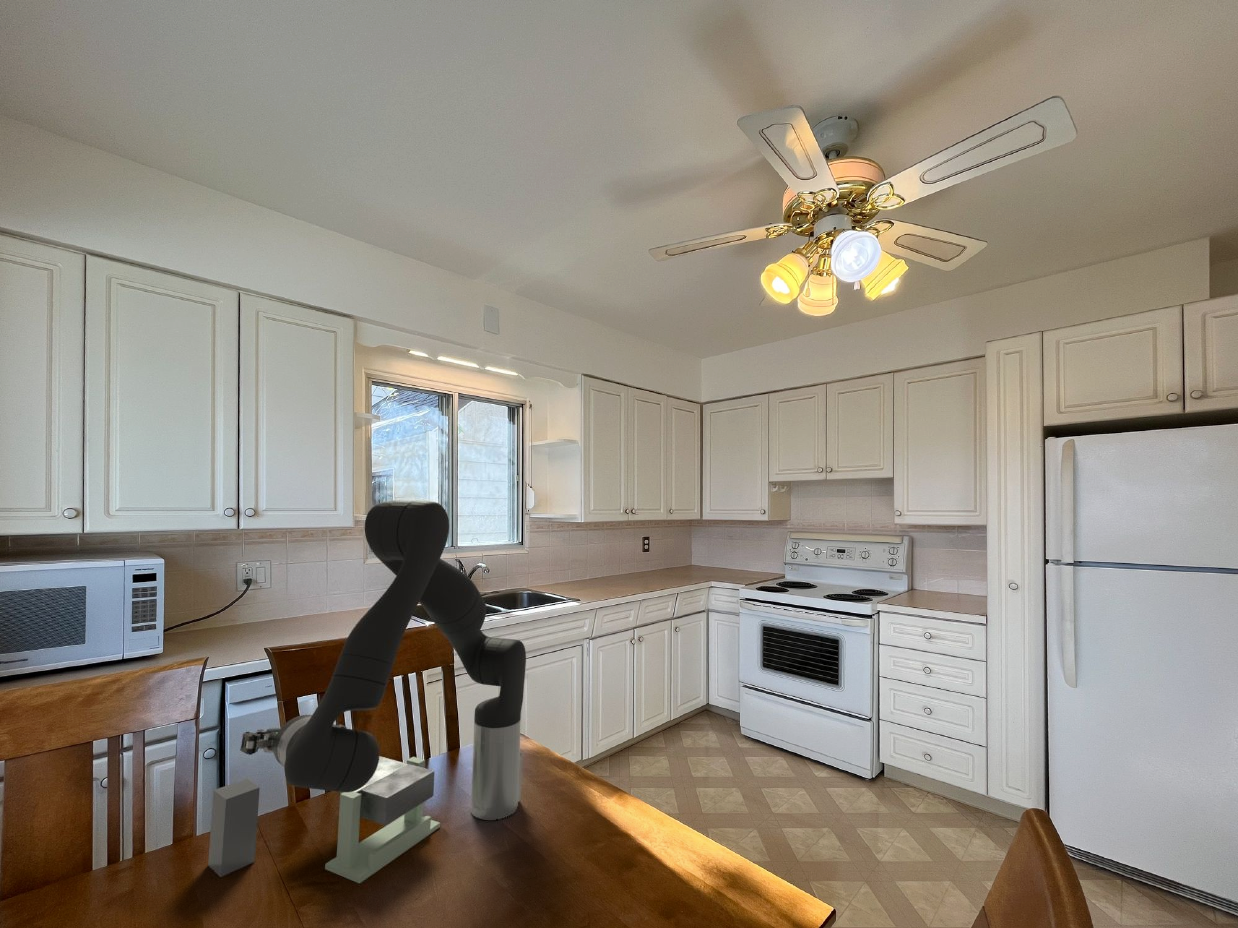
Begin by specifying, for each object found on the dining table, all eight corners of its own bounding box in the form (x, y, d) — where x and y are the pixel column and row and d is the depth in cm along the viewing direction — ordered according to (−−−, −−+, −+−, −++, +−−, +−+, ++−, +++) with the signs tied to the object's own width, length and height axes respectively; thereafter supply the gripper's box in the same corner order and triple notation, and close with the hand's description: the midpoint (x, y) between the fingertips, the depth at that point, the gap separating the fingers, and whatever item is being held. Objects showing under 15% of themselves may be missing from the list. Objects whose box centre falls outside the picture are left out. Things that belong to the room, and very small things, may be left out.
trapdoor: (381, 827, 93) (383, 799, 93) (299, 798, 101) (301, 773, 102) (436, 794, 104) (437, 769, 104) (357, 770, 112) (359, 747, 113)
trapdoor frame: (359, 883, 90) (363, 805, 91) (325, 868, 93) (329, 794, 94) (439, 826, 106) (442, 761, 107) (408, 816, 110) (410, 753, 111)
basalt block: (208, 865, 94) (213, 789, 95) (241, 850, 98) (246, 778, 99) (220, 876, 91) (226, 799, 92) (254, 861, 95) (259, 787, 96)
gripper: (361, 712, 89) (336, 706, 101) (255, 720, 81) (242, 713, 93) (355, 765, 87) (330, 753, 99) (245, 779, 78) (233, 764, 90)
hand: (287, 733), depth 96 cm, fingers open, 8 cm apart
